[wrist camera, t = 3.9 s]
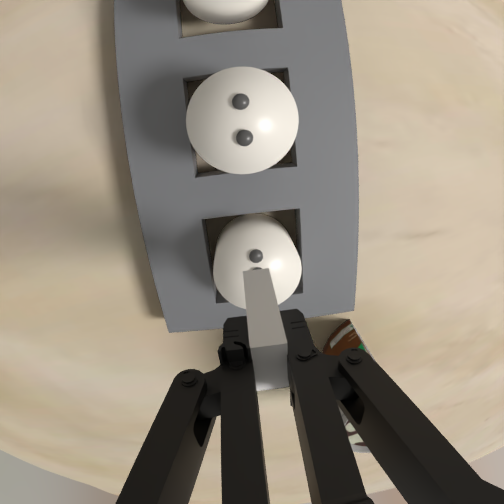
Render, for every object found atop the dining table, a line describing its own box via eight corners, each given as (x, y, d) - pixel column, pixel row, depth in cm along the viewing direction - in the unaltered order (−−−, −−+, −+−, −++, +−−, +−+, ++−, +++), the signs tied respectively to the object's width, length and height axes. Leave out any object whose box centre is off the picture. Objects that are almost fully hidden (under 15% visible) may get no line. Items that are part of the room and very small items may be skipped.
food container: (287, 341, 29) (307, 424, 20) (343, 309, 28) (382, 385, 19) (339, 399, 34) (361, 467, 24) (383, 374, 33) (415, 438, 23)
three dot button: (210, 218, 24) (206, 237, 20) (289, 209, 24) (300, 226, 20) (221, 287, 26) (220, 315, 22) (293, 278, 26) (303, 306, 22)
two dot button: (190, 83, 18) (179, 73, 14) (281, 73, 18) (293, 62, 14) (200, 170, 20) (193, 181, 16) (290, 160, 20) (303, 169, 17)
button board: (122, -36, 15) (114, -45, 13) (319, -56, 15) (325, -66, 13) (172, 319, 27) (169, 332, 26) (347, 298, 28) (354, 310, 26)
